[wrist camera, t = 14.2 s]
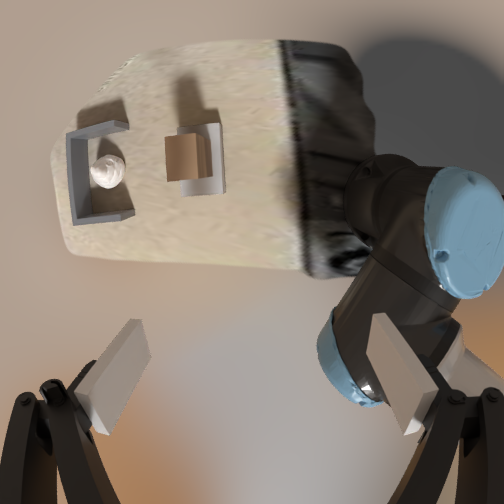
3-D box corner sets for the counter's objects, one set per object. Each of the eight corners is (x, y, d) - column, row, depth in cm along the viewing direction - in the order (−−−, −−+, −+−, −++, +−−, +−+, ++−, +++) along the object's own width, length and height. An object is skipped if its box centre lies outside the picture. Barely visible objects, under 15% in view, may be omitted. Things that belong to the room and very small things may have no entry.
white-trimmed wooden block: (222, 125, 38) (206, 109, 27) (225, 192, 41) (211, 201, 30) (182, 130, 39) (153, 117, 27) (186, 194, 41) (158, 205, 30)
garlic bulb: (113, 161, 34) (101, 196, 36) (131, 161, 40) (120, 192, 42) (86, 149, 34) (75, 183, 35) (105, 150, 40) (95, 180, 41)
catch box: (129, 123, 38) (114, 119, 34) (135, 215, 43) (121, 220, 38) (82, 135, 39) (65, 133, 34) (89, 219, 43) (73, 225, 38)
